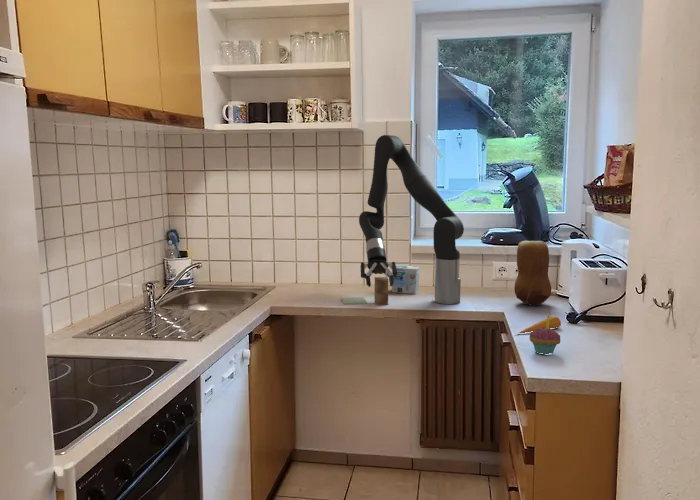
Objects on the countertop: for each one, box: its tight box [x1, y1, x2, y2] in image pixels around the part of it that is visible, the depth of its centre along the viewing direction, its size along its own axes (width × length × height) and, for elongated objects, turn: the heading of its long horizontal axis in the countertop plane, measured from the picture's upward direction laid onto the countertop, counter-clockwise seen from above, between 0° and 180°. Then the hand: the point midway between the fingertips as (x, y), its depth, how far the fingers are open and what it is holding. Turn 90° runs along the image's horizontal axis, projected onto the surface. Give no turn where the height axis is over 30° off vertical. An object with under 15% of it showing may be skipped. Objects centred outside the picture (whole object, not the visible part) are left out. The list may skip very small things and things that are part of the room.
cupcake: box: [529, 310, 561, 354], centre depth 169 cm, size 9×8×12 cm
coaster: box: [340, 296, 368, 305], centre depth 233 cm, size 9×9×1 cm
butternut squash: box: [514, 240, 552, 306], centre depth 226 cm, size 14×13×25 cm
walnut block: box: [374, 276, 389, 306], centre depth 228 cm, size 4×4×10 cm
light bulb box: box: [391, 264, 420, 295], centre depth 250 cm, size 11×7×11 cm, turn 73°
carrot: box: [518, 315, 562, 333], centre depth 191 cm, size 20×4×4 cm, turn 119°
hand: (380, 285), depth 229 cm, fingers open, 8 cm apart
